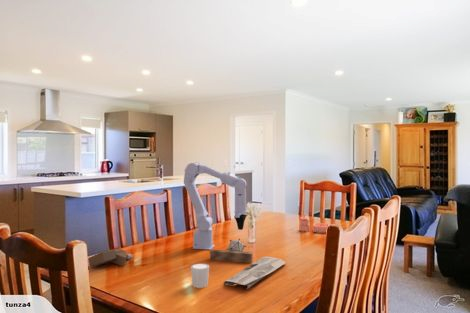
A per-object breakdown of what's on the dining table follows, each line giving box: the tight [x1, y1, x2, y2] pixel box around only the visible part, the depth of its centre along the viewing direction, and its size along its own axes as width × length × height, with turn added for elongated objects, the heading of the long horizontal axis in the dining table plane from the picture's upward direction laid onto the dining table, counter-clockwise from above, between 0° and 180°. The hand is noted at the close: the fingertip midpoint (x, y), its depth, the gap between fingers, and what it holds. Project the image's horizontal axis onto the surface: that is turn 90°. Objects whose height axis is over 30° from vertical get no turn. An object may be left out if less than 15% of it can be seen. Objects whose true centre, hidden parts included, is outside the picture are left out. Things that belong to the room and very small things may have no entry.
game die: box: [225, 238, 247, 252], centre depth 161 cm, size 9×8×10 cm
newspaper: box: [223, 256, 287, 290], centre depth 138 cm, size 35×12×4 cm, turn 150°
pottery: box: [299, 214, 330, 234], centre depth 212 cm, size 18×10×10 cm, turn 74°
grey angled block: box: [87, 248, 133, 268], centre depth 150 cm, size 8×13×18 cm
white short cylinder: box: [190, 263, 210, 289], centre depth 126 cm, size 7×7×7 cm
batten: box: [209, 249, 253, 264], centre depth 155 cm, size 19×2×4 cm, turn 76°
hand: (240, 229), depth 173 cm, fingers closed
